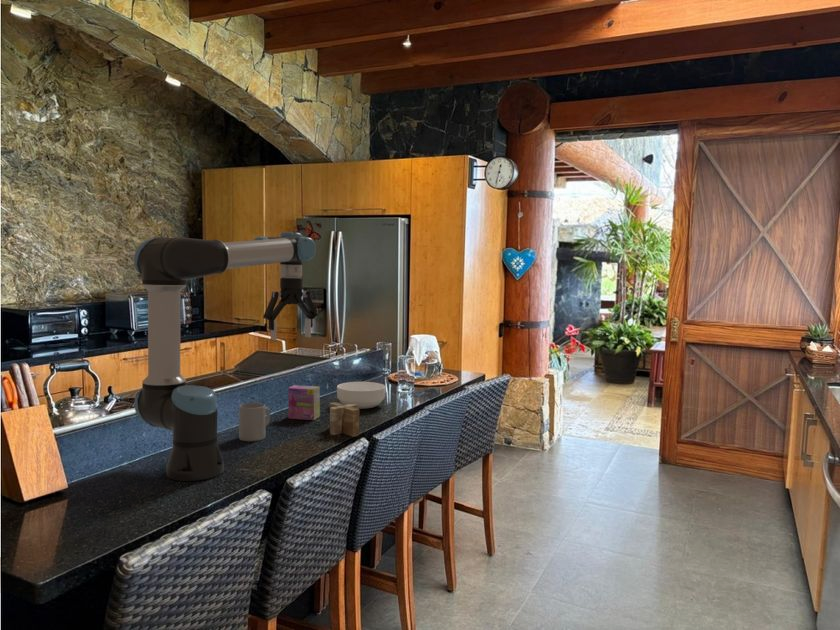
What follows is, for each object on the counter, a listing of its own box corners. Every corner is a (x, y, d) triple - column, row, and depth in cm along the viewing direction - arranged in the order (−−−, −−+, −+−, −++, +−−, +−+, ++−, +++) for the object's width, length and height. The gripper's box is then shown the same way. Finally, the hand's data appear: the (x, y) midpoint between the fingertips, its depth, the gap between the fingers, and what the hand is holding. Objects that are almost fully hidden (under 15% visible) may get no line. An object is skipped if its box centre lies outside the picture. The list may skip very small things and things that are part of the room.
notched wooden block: (353, 436, 216) (353, 410, 215) (329, 428, 226) (329, 403, 226) (359, 435, 218) (359, 409, 217) (335, 427, 228) (335, 402, 227)
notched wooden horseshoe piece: (334, 434, 218) (334, 408, 217) (330, 433, 220) (330, 407, 219) (357, 430, 225) (358, 404, 224) (353, 428, 226) (353, 403, 226)
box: (288, 418, 239) (288, 387, 238) (294, 415, 244) (294, 384, 243) (314, 420, 236) (314, 389, 235) (320, 417, 242) (320, 386, 241)
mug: (252, 443, 207) (251, 409, 206) (233, 438, 211) (233, 406, 210) (278, 434, 217) (278, 402, 216) (260, 430, 221) (260, 399, 220)
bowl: (366, 414, 247) (366, 393, 246) (326, 407, 257) (326, 387, 256) (394, 405, 264) (394, 385, 263) (356, 399, 274) (356, 379, 273)
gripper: (263, 277, 210) (264, 341, 212) (327, 277, 227) (327, 337, 229) (253, 277, 216) (253, 339, 218) (316, 276, 233) (315, 334, 235)
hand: (291, 338), depth 223 cm, fingers open, 13 cm apart
